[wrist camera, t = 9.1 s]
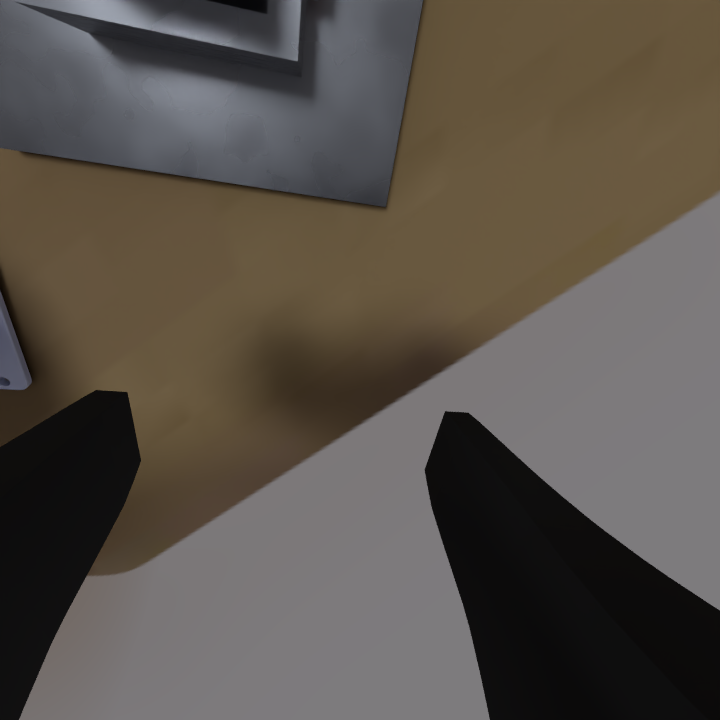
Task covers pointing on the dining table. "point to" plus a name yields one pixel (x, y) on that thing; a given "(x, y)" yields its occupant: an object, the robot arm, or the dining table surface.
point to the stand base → (214, 88)
